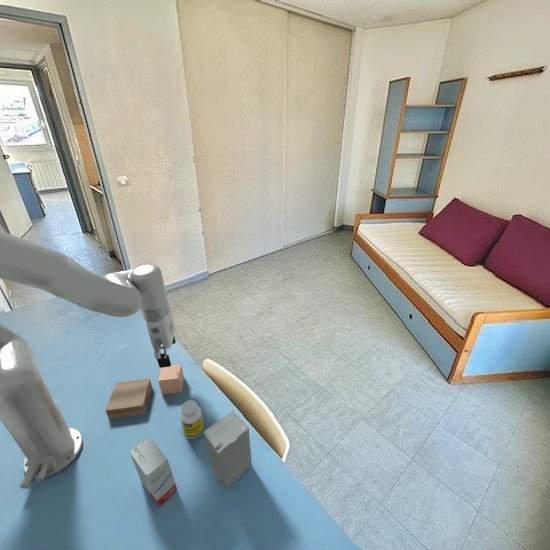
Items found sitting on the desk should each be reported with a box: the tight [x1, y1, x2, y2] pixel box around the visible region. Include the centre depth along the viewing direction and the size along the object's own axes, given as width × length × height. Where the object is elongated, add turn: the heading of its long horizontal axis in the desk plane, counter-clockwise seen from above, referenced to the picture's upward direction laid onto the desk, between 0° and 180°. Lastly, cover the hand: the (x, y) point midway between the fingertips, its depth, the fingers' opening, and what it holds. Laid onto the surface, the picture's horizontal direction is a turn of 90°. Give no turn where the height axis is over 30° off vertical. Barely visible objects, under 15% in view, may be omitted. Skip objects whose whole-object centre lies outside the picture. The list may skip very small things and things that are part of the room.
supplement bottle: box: [179, 400, 205, 440], centre depth 81 cm, size 5×5×10 cm
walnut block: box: [105, 378, 153, 420], centre depth 91 cm, size 10×10×4 cm
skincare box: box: [203, 410, 252, 490], centre depth 70 cm, size 8×7×16 cm
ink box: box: [129, 436, 178, 507], centre depth 68 cm, size 9×5×12 cm, turn 48°
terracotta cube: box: [157, 363, 185, 395], centre depth 96 cm, size 6×6×6 cm
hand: (168, 354), depth 92 cm, fingers open, 9 cm apart
